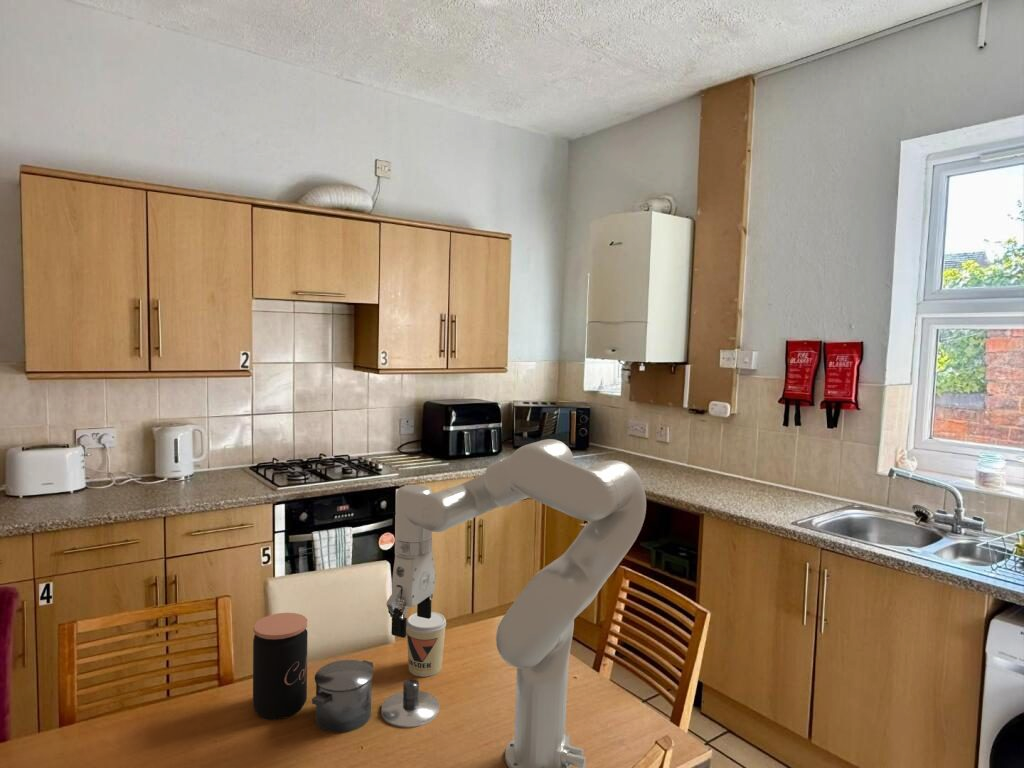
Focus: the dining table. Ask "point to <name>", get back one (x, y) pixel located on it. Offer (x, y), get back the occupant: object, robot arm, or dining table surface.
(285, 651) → the coffee jar
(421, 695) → the lid
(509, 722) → the dining table surface
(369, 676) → the pot
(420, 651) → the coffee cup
